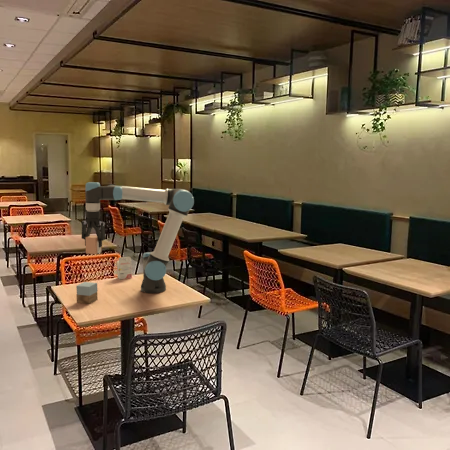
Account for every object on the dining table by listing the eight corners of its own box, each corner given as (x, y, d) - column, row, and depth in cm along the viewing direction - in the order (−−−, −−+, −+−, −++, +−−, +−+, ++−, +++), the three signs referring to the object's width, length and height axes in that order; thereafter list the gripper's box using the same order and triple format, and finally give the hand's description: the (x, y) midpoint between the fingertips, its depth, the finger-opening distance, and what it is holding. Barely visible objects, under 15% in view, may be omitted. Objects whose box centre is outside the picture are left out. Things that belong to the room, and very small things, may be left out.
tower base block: (97, 300, 252) (97, 291, 252) (89, 304, 245) (89, 295, 244) (85, 298, 255) (84, 290, 254) (76, 303, 247) (76, 294, 246)
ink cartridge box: (129, 276, 303) (129, 255, 301) (131, 278, 299) (131, 256, 297) (117, 277, 299) (116, 256, 297) (119, 279, 295) (118, 257, 293)
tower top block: (97, 291, 252) (97, 282, 251) (89, 295, 244) (89, 286, 243) (85, 290, 254) (84, 281, 253) (76, 294, 246) (76, 285, 245)
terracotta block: (101, 252, 249) (101, 236, 248) (95, 254, 244) (95, 237, 242) (91, 251, 251) (91, 235, 250) (85, 253, 245) (85, 237, 244)
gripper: (112, 210, 245) (112, 252, 248) (81, 209, 250) (82, 249, 253) (104, 212, 238) (105, 254, 241) (73, 210, 243) (74, 252, 246)
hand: (93, 252), depth 247 cm, fingers closed on terracotta block, 6 cm apart
